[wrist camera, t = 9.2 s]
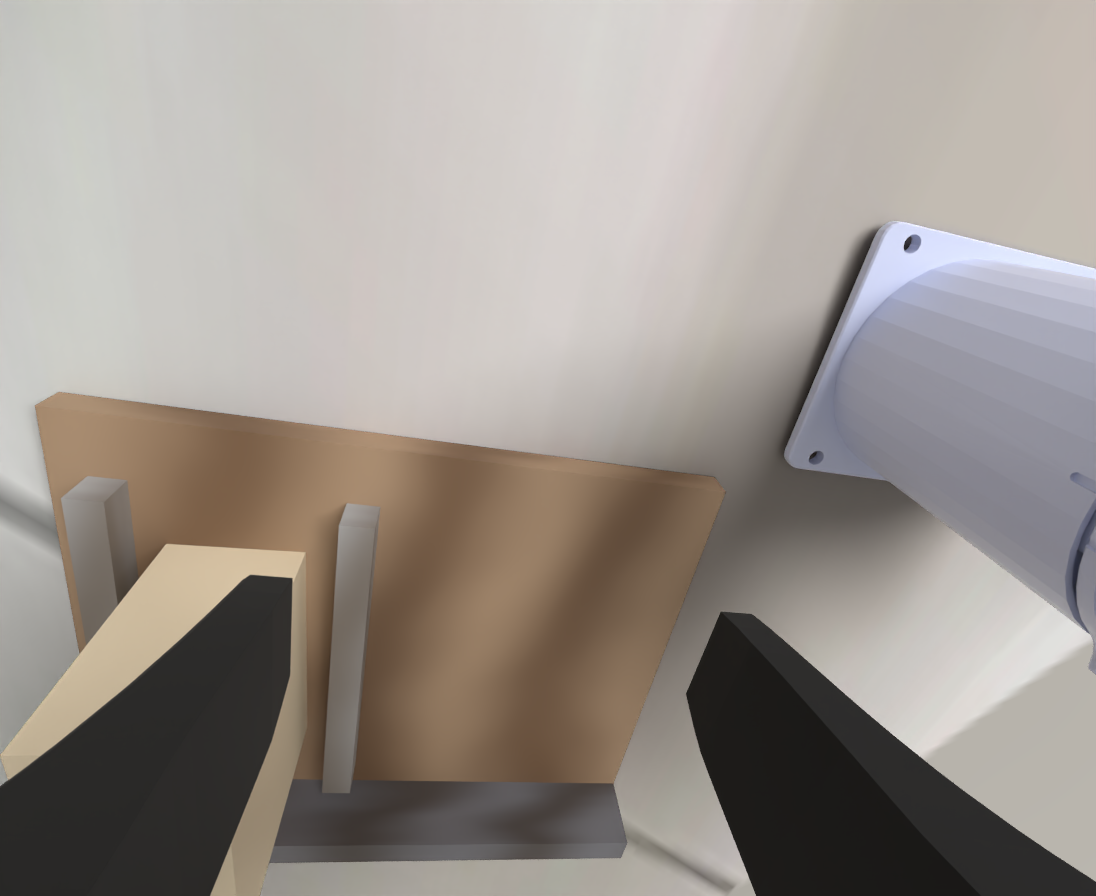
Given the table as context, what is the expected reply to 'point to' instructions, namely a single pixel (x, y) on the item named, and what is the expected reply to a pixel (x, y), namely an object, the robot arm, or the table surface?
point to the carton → (143, 637)
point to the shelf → (410, 611)
